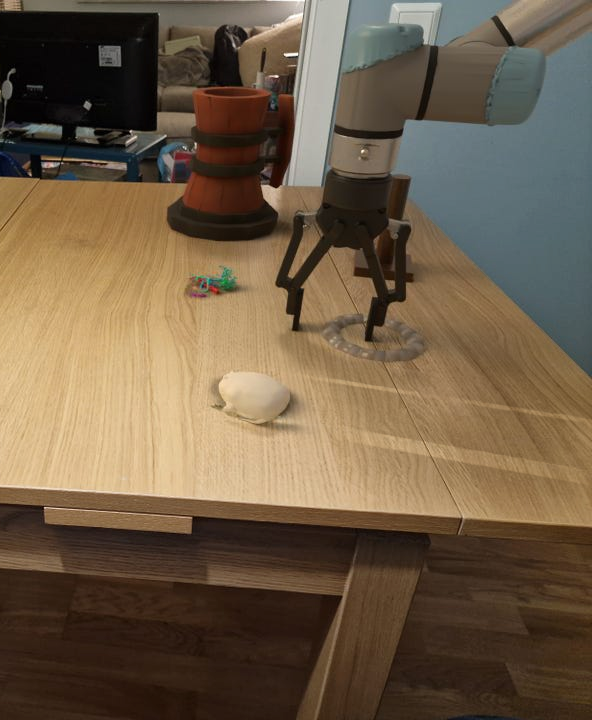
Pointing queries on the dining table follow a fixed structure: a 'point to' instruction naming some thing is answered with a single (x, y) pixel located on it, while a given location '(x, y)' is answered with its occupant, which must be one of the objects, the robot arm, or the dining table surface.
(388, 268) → the stand
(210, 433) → the dining table surface
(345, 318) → the bracelet
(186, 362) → the dining table surface
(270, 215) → the tankard
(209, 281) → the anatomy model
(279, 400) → the garlic
